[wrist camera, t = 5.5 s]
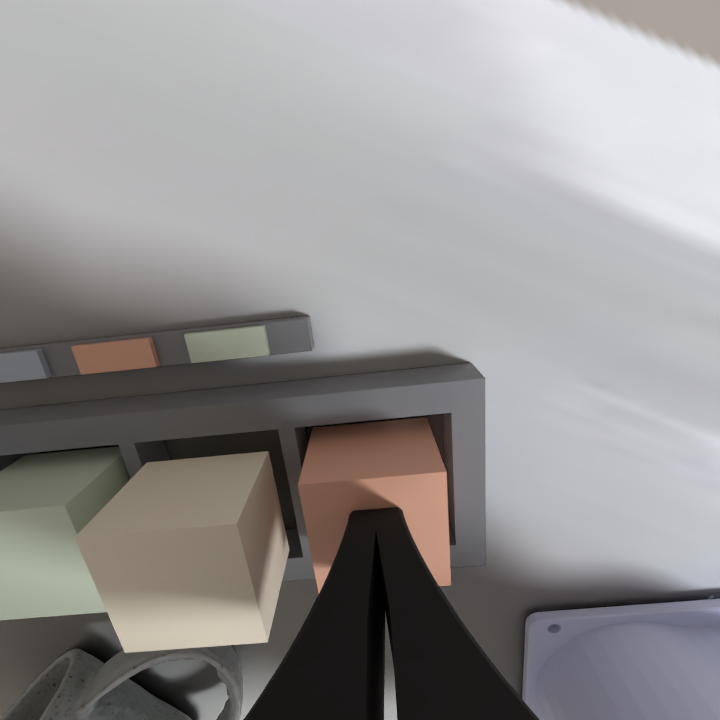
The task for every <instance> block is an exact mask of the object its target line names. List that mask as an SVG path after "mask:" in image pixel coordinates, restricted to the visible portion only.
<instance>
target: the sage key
mask: <svg viewBox="0 0 720 720" xmlns="http://www.w3.org/2000/svg"><path fill="white" fill-rule="evenodd" d="M129 480H130V476H129V473H128V471H127V468H126V465H125V462H124V459H123V457H122V454H121V451H120V448H119V446H117V447H107V448H96V449H86V450H75V451H65V452H54V453H44V454H33V455H25V456H23V457H22V458H20V459H19V460H17V461H16V462H14V463H12V464H11V465H9V466H8V467H6V468H5V469H3V470H1V471H0V620H11V619H24V618H37V617H50V616H63V615H76V614H89V613H102V612H107V611H106V609H105V606H104V604H103V602H102V599H101V597H100V595H99V593H98V590H97V588H96V586H95V583H94V581H93V579H92V577H91V574H90V572H89V570H88V567H87V565H86V563H85V561H84V558H83V556H82V554H81V551H80V549H79V547H78V545H77V542H76V540H75V538H74V537H75V536H76V535H77V534H78V533H79V532H80V531H81V530H82V529H83V528H84V527H85V526H86V525H87V524H88V523H89V522H90V521H91V520H92V519H93V518H94V517H95V516H96V515H97V514H98V513H99V512H100V511H101V510H102V508H103V507H104V506H105V505H106V504H107V503H108V502H109V501H110V500H111V499H112V498H113V497H114V496H115V495H116V494H117V493H118V492H119V491H120V490H121V489H122V488H123V487H124V486H125V485H126V484H127V483H128V482H129Z"/></svg>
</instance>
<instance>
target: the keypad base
mask: <svg viewBox="0 0 720 720" xmlns="http://www.w3.org/2000/svg"><path fill="white" fill-rule="evenodd" d="M433 414H443V437H444V461H445V469H446V472H447V496H448V520H449V545H450V568H459V567H472V566H484V565H486V549H485V378H484V377H483V375H482V374H481V373H480V372H479V371H478V370H477V369H476V368H475V366H474V365H473V364H472V363H464V364H454V365H444V366H434V367H425V368H415V369H405V370H395V371H385V372H375V373H365V374H355V375H345V376H335V377H325V378H315V379H305V380H295V381H285V382H275V383H265V384H255V385H245V386H235V387H225V388H215V389H205V390H195V391H185V392H175V393H165V394H155V395H145V396H135V397H125V398H115V399H105V400H95V401H85V402H75V403H65V404H55V405H45V406H35V407H25V408H15V409H5V410H0V471H1V470H3V469H5V468H6V467H8V466H9V465H11V464H12V463H14V462H16V461H17V460H19V459H20V458H22V457H23V456H25V455H27V453H34V452H44V451H55V450H65V449H76V448H86V447H97V446H107V445H119V448H120V451H121V454H122V457H123V459H124V462H125V465H126V468H127V471H128V473H129V476H130V479H131V478H132V477H133V476H134V475H135V474H136V473H137V472H138V471H139V470H140V469H141V468H142V467H143V466H144V465H145V464H146V463H147V462H157V461H167V460H170V459H169V456H168V452H167V449H166V446H165V443H164V440H170V439H181V438H191V437H202V436H212V435H223V434H233V433H244V432H254V431H265V430H276V429H278V433H279V438H280V443H281V448H282V453H283V458H284V463H285V468H286V473H287V478H288V483H289V488H290V493H291V498H292V503H293V508H294V513H295V518H296V523H297V528H295V529H285V531H286V536H287V540H288V545H289V553H288V558H287V562H286V566H285V570H284V575H283V579H282V581H295V580H307V579H316V578H315V573H314V567H313V562H312V557H311V552H310V546H309V541H308V536H307V531H306V525H305V520H304V515H303V510H302V504H301V499H300V494H299V489H298V482H299V478H300V475H301V471H302V467H303V463H304V459H305V455H306V452H307V448H308V443H307V438H306V432H305V427H307V426H318V425H328V424H339V423H349V422H360V421H370V420H381V419H391V418H402V417H412V416H423V415H433Z"/></svg>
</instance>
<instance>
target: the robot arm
mask: <svg viewBox="0 0 720 720" xmlns="http://www.w3.org/2000/svg"><path fill="white" fill-rule="evenodd" d="M385 611H386V618H387V624H388V631H389V637H390V644H391V651H392V657H393V664H394V673H395V688H396V703H397V718H398V720H720V599H708V600H694V601H681V602H667V603H654V604H640V605H626V606H613V607H599V608H586V609H572V610H559V611H545V612H536V613H533V614H531V615H529V616H528V617H527V619H526V624H525V646H524V669H523V692H522V698H521V697H520V696H519V695H518V694H517V693H516V691H515V690H514V689H513V688H512V687H511V685H510V684H509V683H508V682H507V681H506V680H505V678H504V677H503V676H502V675H501V673H500V672H499V671H498V669H497V668H496V667H495V666H494V664H493V663H492V662H491V660H490V659H489V658H488V657H487V655H486V654H485V653H484V651H483V650H482V649H481V647H480V646H479V645H478V643H477V642H476V641H475V639H474V638H473V636H472V635H471V634H470V632H469V631H468V630H467V628H466V627H465V625H464V624H463V622H462V621H461V620H460V618H459V617H458V615H457V614H456V612H455V611H454V609H453V608H452V606H451V604H450V603H449V601H448V600H447V598H446V597H445V595H444V594H443V592H442V590H441V589H440V587H439V585H438V584H437V582H436V580H435V579H434V577H433V575H432V574H431V572H430V570H429V568H428V566H427V565H426V563H425V561H424V559H423V557H422V556H421V554H420V552H419V550H418V548H417V546H416V544H415V542H414V539H413V537H412V535H411V533H410V531H409V528H408V526H407V523H406V520H405V517H404V514H403V510H401V509H400V508H399V507H392V508H380V509H368V510H356V511H352V512H351V513H350V514H349V518H348V522H347V526H346V529H345V532H344V535H343V538H342V541H341V544H340V546H339V549H338V552H337V554H336V557H335V559H334V561H333V564H332V566H331V568H330V571H329V573H328V576H327V578H326V580H325V582H324V584H323V587H322V589H321V591H320V593H319V595H318V597H317V599H316V601H315V603H314V605H313V607H312V609H311V611H310V613H309V615H308V617H307V619H306V620H305V622H304V624H303V626H302V628H301V630H300V631H299V633H298V635H297V637H296V639H295V640H294V642H293V644H292V645H291V647H290V649H289V651H288V652H287V654H286V656H285V657H284V659H283V661H282V662H281V664H280V665H279V667H278V669H277V670H276V672H275V673H274V675H273V676H272V678H271V680H270V681H269V683H268V684H267V686H266V687H265V689H264V690H263V692H262V694H261V695H260V697H259V698H258V700H257V701H256V703H255V704H254V705H253V707H252V708H251V710H250V711H249V713H248V714H247V716H246V717H245V719H244V720H384V668H385Z"/></svg>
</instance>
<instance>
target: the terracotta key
mask: <svg viewBox="0 0 720 720" xmlns="http://www.w3.org/2000/svg"><path fill="white" fill-rule="evenodd" d="M298 489H299V494H300V499H301V504H302V510H303V515H304V520H305V525H306V531H307V536H308V541H309V546H310V552H311V557H312V562H313V567H314V573H315V578H316V583H317V588H318V594H319V593H320V591H321V589H322V587H323V584H324V582H325V580H326V578H327V576H328V573H329V571H330V568H331V566H332V564H333V561H334V559H335V557H336V554H337V552H338V549H339V546H340V544H341V541H342V538H343V535H344V532H345V529H346V526H347V522H348V518H349V514H350V513H351V512H352V511H356V510H368V509H380V508H392V507H399V508H400V509H401V510H403V514H404V517H405V520H406V523H407V526H408V528H409V531H410V533H411V535H412V537H413V539H414V542H415V544H416V546H417V548H418V550H419V552H420V554H421V556H422V557H423V559H424V561H425V563H426V565H427V566H428V568H429V570H430V572H431V574H432V575H433V577H434V579H435V580H436V582H437V584H438V585H439V586H450V585H451V569H450V545H449V520H448V496H447V472H446V469H445V466H444V463H443V461H442V458H441V455H440V453H439V450H438V447H437V444H436V442H435V439H434V436H433V433H432V431H431V428H430V425H429V422H428V420H427V417H423V418H412V419H401V420H391V421H380V422H370V423H359V424H349V425H338V426H328V427H317V428H313V429H312V432H311V436H310V440H309V444H308V448H307V452H306V455H305V459H304V463H303V467H302V471H301V475H300V478H299V482H298Z"/></svg>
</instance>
